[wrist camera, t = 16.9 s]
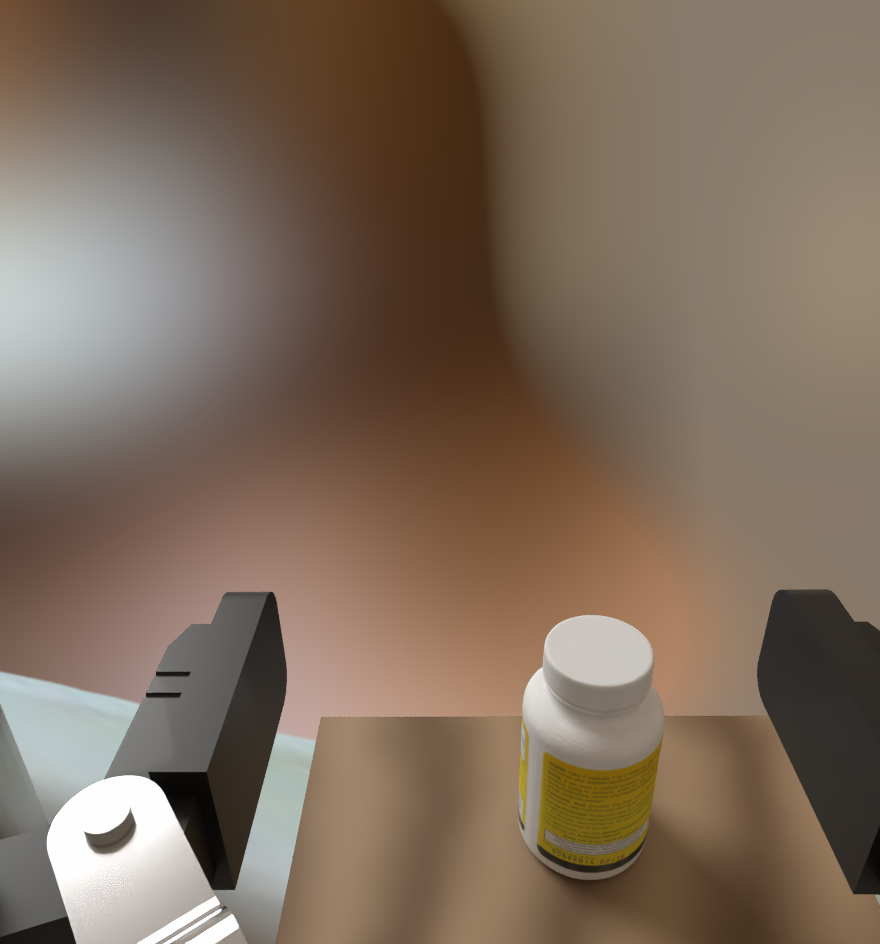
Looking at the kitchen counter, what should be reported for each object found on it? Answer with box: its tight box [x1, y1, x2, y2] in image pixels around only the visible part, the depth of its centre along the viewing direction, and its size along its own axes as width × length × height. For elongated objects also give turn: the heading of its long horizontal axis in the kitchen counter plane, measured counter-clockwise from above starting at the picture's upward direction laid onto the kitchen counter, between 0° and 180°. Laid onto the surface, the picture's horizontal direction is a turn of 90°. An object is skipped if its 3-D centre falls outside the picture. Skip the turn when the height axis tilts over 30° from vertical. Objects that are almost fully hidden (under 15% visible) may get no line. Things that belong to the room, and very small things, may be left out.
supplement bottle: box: [518, 615, 664, 880], centre depth 31 cm, size 5×5×10 cm
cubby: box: [276, 716, 880, 944], centre depth 37 cm, size 23×12×15 cm, turn 89°
